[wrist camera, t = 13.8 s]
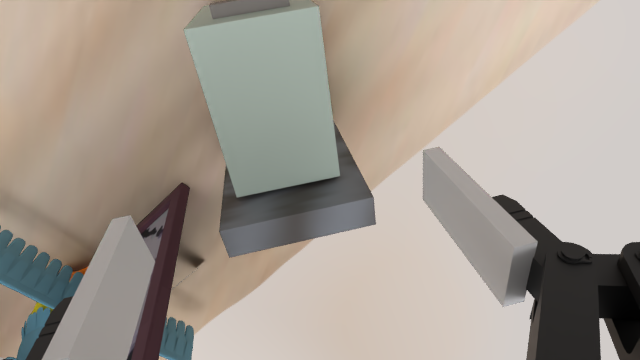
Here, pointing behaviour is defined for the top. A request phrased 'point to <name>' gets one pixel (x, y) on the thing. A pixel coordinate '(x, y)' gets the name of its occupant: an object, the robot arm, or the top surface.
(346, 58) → the top surface
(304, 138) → the cabinet box
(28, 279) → the blue toy animal
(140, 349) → the picture frame
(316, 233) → the grey bookend
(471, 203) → the robot arm
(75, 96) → the top surface
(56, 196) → the top surface
